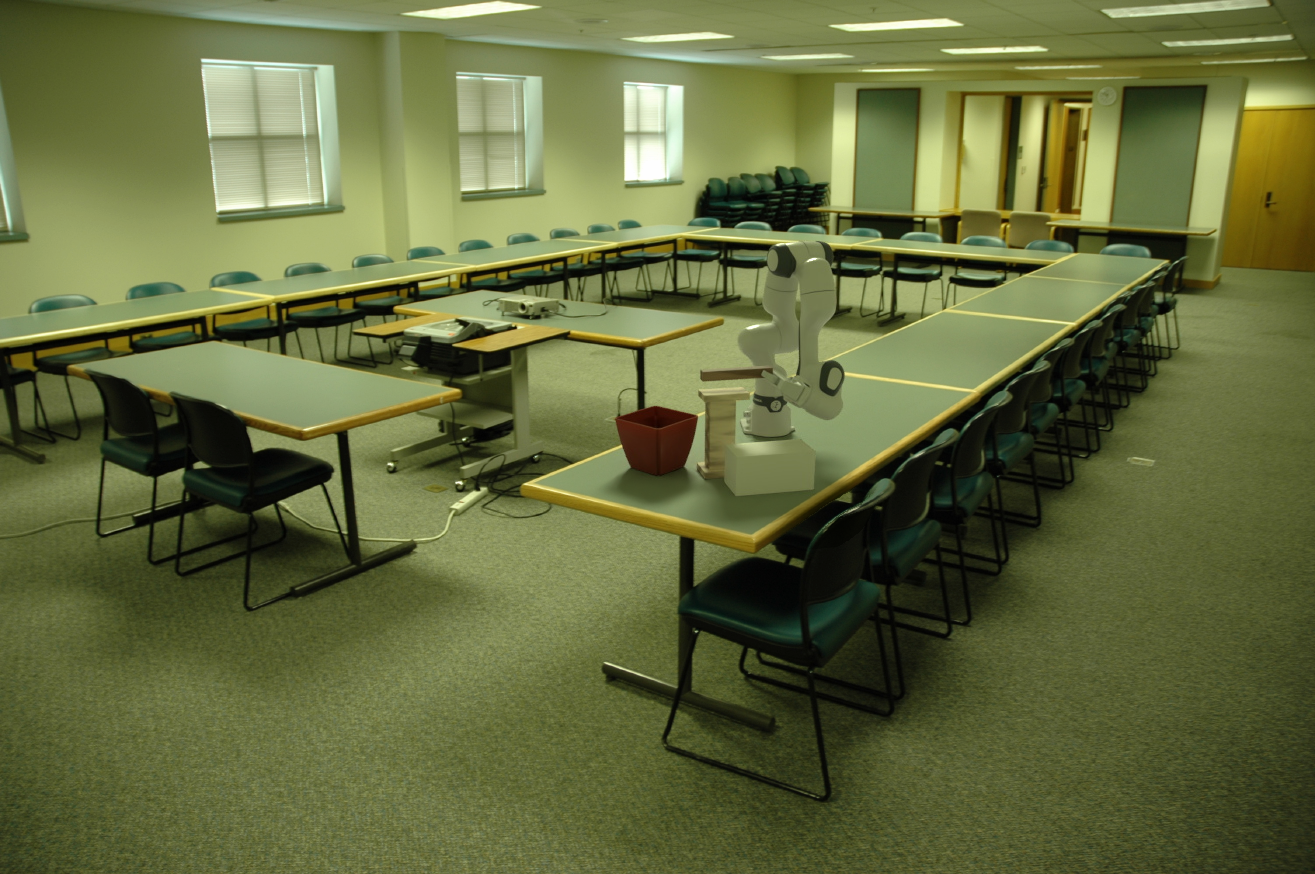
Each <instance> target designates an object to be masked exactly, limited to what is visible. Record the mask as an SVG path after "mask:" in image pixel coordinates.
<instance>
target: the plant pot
mask: <svg viewBox="0 0 1315 874" xmlns="http://www.w3.org/2000/svg"><path fill="white" fill-rule="evenodd" d="M698 419H699V415H698V414H693V413H690V412H685V411H682V410H681V411H680V410H676V409H671V408H668V407H664V406H659V405H652V406H648V407H645V408H642V409H638V410H635V411H632V412H631V411H630V412H629V413H626V414H622V415H620V416H617V417H615V419H614V420H615V425H616V426H615V427H616V431H617V433H618V437H619V440H620V444H621V446H622V449H623V452H624V454H625V455H624V456H625V457H626V460H627V463H628V465H629V467H630V468H631V469H634V470H637V471H640V472H643V473H647V474H649V475H654V476H657V477H658V476H662V475H665V474H668V473H671V472H673V471H676V470H678V469H681V468H684V467H685V465H686V463H687V461H688V459H689V456H690V453H691V451H692V446H693V444H694V440H695V435H696V431H697V428H698V427H697V426H698V422H699V420H698Z"/></svg>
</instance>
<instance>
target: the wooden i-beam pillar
mask: <svg viewBox="0 0 1315 874" xmlns="http://www.w3.org/2000/svg"><path fill="white" fill-rule="evenodd" d="M697 395H698V397H699V398H700V399H701V400H702V401H703V402H704V404H705V405H704V406H705V407H704V408H705V409H704V461H699V462H698V461H697V462H696V469H697V471H698V472H699V473H700V475H701V476H702V477H703V479H704V480H708V479H709V480H710V479H720V478H721V479H723V478H724V477H725V445H726V444H736V427H737V426H736V424H737V423H736V422H737V421H736V420H737V418H736V417H737V416H736V414H737V413H736V412H737V401H748V400H749V401H750V400H751V393H750V392H749V391H748V390H747V389H745V388H744V387H743V386H734V387H719V388H718V387H717V388H702V389H701V388H699V389H697Z"/></svg>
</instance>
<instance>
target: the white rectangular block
mask: <svg viewBox="0 0 1315 874" xmlns="http://www.w3.org/2000/svg"><path fill="white" fill-rule="evenodd" d="M816 454H817V453H816V450H815V449H814V448H813V447H811V446H810V445H809V444H807V442H806V441H804V439H802V438H796V439H784V440H783V439H782V440H771V441H770V440H769V441H756V442H755V441H754V442H753V441H752V442H742V443H735V444H726V445H725V477H724V482H723V483H725V484H726V486H727V487H728V489H729V490H730V491H731V493H733V495H734V496H735V497H741V496H742V497H744V496H745V497H746V496H755V495H766V494H767V495H768V494H777V493H778V494H779V493H791V492H799V491H813V490H815V473H816V472H815V470H816Z"/></svg>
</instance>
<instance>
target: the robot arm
mask: <svg viewBox="0 0 1315 874" xmlns="http://www.w3.org/2000/svg"><path fill="white" fill-rule="evenodd" d="M833 262H834V251H833V249H832V247H831V246H830V244H829V243H828V242H826V241H820V240H815V241H814V240H813V241H812V240H799V241H791V242H786V243H784V242H781V243H780V242H779V243H777V244H776V243H775V244H774V245H771V246H770V248H769V249H768V252H767V255H766V267H767V274H766V278H765V283H764V287H763V288H764V289H763V293H762V294H763V295H762V301H761V302H762V307H763V309H764V310H765V312H767V313H768V314H770V315H771V316H772V320H771V322H767V323H756V324H753V325H749V326H746V327H744V328H742V329H741V330H740V331H739V333H738V336H737V346H738V348H739V350H740V352H741V354H742V355H744V356H745V357H747V358H748V360H749V361H750V363H751V365H752V367H753V366H771V367H773V374H770V373H768V372H767V371H765V370H762V371H761V373H760V375H761V376H763V377H765V378H754V392H753V395H752V402H751V404H749V406H747V408H746V410H745V411H743V418H740V421H739V423H740V426H741V428H742V432H743V433H744V434H747V435H755V436H759V437H767V438H770V437H771V438H773V437H777V438H778V437H783V436H786V435H789V434H790V433H791V432H793V431H795V430H796V427H795V426H794V425H792V409H791V407H790V406H789V405H788V404H791V405H792V406H795V407H796V408H799V409H802V410H804V411H805V412H806V413H808V414H809V415H811V416H813V417H815V418H818V419H820V420H824V421H830V420H833V419H835V418H837V417H838V416H839V415H840V413H841V412H842V410H843V408H844V401H843V398H842V392H843V391H842V389H843V384H844V382H845V379H846V373H845V369H844V368H843V366H842V364H840V362H838V361H836V360H835V359H829V360H823V361H822V360H821V361H820V360H819V335H820V332H821V330H822V328H823V327H824V325H826V323H827V322H828V321H830V320H831V318H832V317H833V316H834V315H835V313H836V310H837V309H836V308H837V294H836V293H837V292H836V285H835V279H834V275H833V271H832V265H833ZM798 289H799V296H800V297H799V298H800V316H799V320H798V317H797V314H796V303H797V295H798ZM797 351H798V364H797V370H796V371H795V372H796V373H795V375H793V376H789V377H788V373H787V370H786V369H785V368H784V367H783V366H782V365H780V364H778V363H776V359H775V357H776V356H775V355H780V354H789V353H790V354H791V353H793V352H797Z"/></svg>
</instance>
